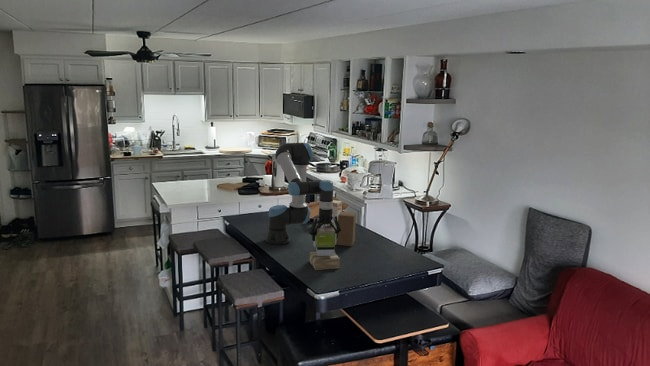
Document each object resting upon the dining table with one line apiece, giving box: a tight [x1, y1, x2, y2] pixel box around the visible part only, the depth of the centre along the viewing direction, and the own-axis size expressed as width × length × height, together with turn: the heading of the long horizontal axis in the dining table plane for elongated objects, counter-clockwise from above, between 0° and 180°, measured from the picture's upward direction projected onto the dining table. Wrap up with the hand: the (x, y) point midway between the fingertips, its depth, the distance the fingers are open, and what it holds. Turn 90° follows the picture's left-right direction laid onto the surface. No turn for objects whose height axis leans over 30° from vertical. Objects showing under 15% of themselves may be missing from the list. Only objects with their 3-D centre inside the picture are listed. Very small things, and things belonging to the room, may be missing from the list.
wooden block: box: [336, 211, 357, 247], centre depth 325 cm, size 10×10×20 cm
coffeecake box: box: [331, 199, 343, 229], centre depth 362 cm, size 15×7×20 cm, turn 58°
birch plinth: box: [309, 251, 341, 271], centre depth 287 cm, size 14×14×6 cm
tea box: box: [315, 223, 336, 256], centre depth 285 cm, size 15×10×15 cm
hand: (324, 245), depth 285 cm, fingers closed on tea box, 12 cm apart
